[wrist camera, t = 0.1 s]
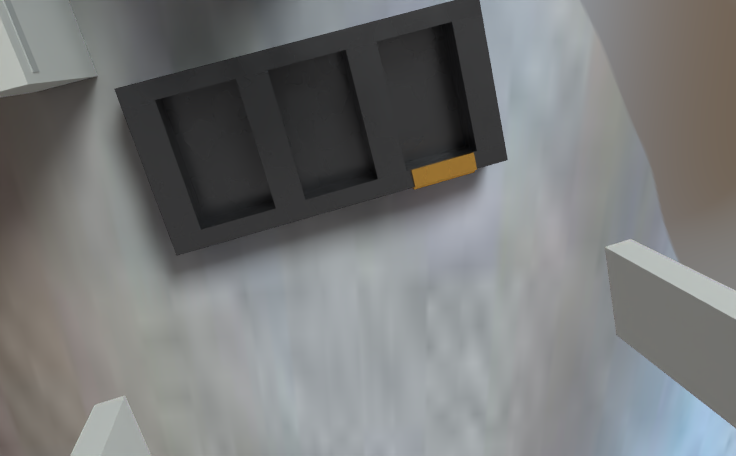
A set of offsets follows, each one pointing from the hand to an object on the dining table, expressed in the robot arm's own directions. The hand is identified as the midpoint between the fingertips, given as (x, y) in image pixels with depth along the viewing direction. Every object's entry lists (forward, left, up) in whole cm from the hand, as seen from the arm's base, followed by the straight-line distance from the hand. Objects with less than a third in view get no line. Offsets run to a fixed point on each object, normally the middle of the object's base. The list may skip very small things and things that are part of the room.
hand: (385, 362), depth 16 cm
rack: (-3, +2, -28) cm, 28 cm away
